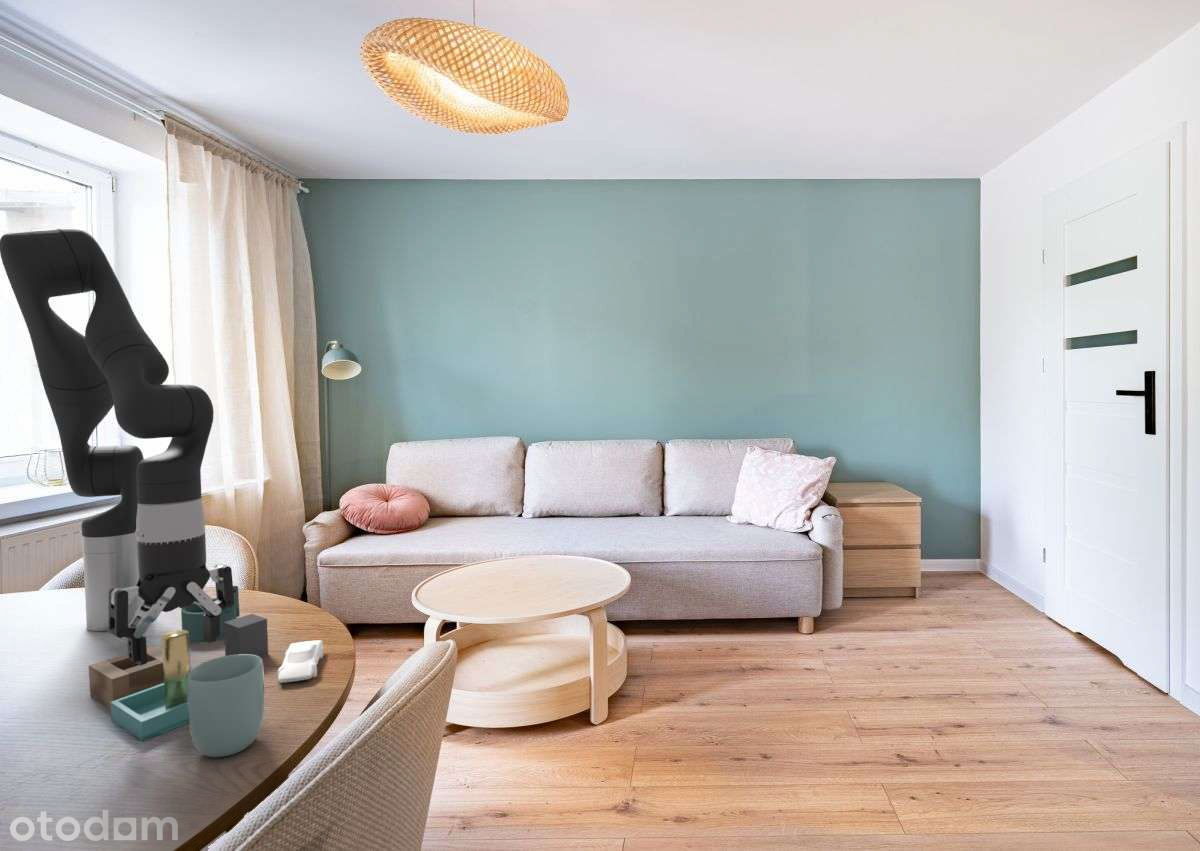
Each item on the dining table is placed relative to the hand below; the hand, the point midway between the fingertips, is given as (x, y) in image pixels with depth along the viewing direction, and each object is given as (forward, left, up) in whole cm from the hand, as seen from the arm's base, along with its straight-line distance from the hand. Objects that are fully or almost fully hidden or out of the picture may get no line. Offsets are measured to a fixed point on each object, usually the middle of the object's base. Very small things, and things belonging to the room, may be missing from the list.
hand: (177, 651), depth 83 cm
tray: (0, 0, -8) cm, 8 cm away
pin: (0, 0, -8) cm, 8 cm away
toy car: (+2, +16, -9) cm, 19 cm away
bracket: (-25, +16, -8) cm, 31 cm away
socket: (-11, -1, -8) cm, 14 cm away
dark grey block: (-10, +14, -8) cm, 19 cm away
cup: (+15, -1, -8) cm, 17 cm away
